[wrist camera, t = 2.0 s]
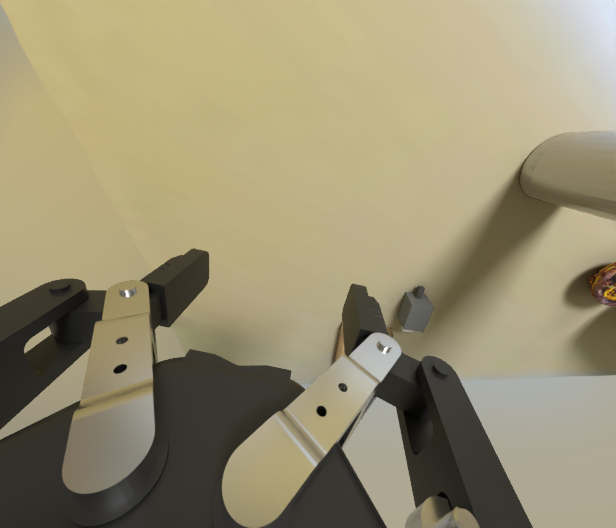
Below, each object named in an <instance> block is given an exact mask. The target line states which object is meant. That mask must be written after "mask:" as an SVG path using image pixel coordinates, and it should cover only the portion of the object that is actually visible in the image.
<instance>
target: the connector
mask: <svg viewBox="0 0 616 528" xmlns="http://www.w3.org/2000/svg"><path fill="white" fill-rule="evenodd" d="M424 290H425V288H424V287H423V286H418V288H417V291H416V293H410V292H405V295H404V298H403V301H402V304H401V307H400V310H399V313H398V316H399V319H400V322H401V324H402V327H401V329H402V331H403V332H411V333H413V331H421V332H424V330H425V327H426V325H427V323H428V321H429V318H430V316H431V314H432V311H433V309H434V308H433V306H432V304H431V303H430V301H429V299H428V298H427V296H426V294H423V292H424Z"/></svg>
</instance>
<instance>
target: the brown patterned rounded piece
mask: <svg viewBox="0 0 616 528" xmlns="http://www.w3.org/2000/svg"><path fill="white" fill-rule="evenodd" d="M589 281H590V282H591V286H590V290H591V293H592V295H593V297H594V299H595V300H597V301H598V302H600V303H602V304H605V305H608V306H616V262H615V263H613V264H610V265H608V266H606V267H605V268H603V269H601V270H600V271H599V273H597V274H594V275H592V276H590V278H589Z"/></svg>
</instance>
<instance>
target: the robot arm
mask: <svg viewBox="0 0 616 528" xmlns="http://www.w3.org/2000/svg"><path fill="white" fill-rule="evenodd" d="M520 185H521V187H522V190H523V191H524V192H525V194H527V195H528V196H530V197H532V198H535V199H538V200H542V201H546V202H549V203H553V204H556V205H560V206H563V207H567V208H570V209H574V210H578V211H581V212H585V213H588V214H592V215H596V216H599V217H603V218H607V219H610V220H614V221H616V131H592V132H571V133H563V134H560V135H557V136H554V137H552V138H550V139H548V140H547V141H545V142H544V143H542V144H541V145H540V146H538V147H537V148H536V149H535V150H534V151H533V152H532V153H531V155H530V156H529V157H528V158H527V160H526V162H525V163H524V165H523V168H522V171H521V175H520ZM208 279H209V254H208V252H207V251H202V250H198V249H191V250H190V251H188V252H187V253H186V254H184V255H180V256H177V257H174V258H171V259H170V260H168V261H167V262H165V263H164V264H163V265H161V266H160V267H159V268H157V269H155V270H154V271H153V272H151V273H150V274H148V275H147V276H146V277H144V278H143V279H142V280H140V281H135V280H131V281H124V282H120V283H117V284H115V285H113V286H111V287H110V288H109V289H108V290H107V291H95V290H91V291H90V290H87V289H86V286H85V283H84V282H83V281H81V280H78V279H61V280H55V281H51V282H48V283H46V284H43V285H41V286H39V287H37V288H35V289H34V290H32V291H30V292H28V293H26V294H24V295H22V296H20V297H18V298H16V299H14V300H12V301H11V302H9V303H7V304H5V305H3V306H1V307H0V429H1V428H3V427H4V426H5V425H6V424H7V423H8V422H9V421H10V420H11V419H12V418H13V417H15V416H16V415H17V414H18V413H19V412H20V411H21V410H22V409H23V408H24V407H25V406H27V405H28V404H29V403H30V402H31V401H32V400H33V399H34V398H35V397H37V396H38V395H39V394H40V393H41V392H42V391H43V390H44V389H45V388H46V387H47V386H49V385H50V384H51V383H52V382H53V381H54V380H55V379H56V378H57V377H59V376H60V375H61V374H62V373H63V372H64V371H65V370H66V369H67V368H68V367H69V366H71V365H72V364H73V363H74V362H75V361H76V360H77V359H78V358H79V357H80V356H81V355H82V354H84V353H85V352H86V351H87V350H88V349H89V348H90V347H91V348H90V353H89V359H88V365H87V370H86V375H85V380H84V386H83V391H82V396H81V400H80V401H78V402H76V403H74V404H72V405H70V406H68V407H66V408H64V409H62V410H60V411H58V412H56V413H54V414H52V415H50V416H48V417H46V418H43V419H41V420H40V421H38V422H35V423H34V424H31V425H29V426H27V427H25V428H23V429H21V430H19V431H17V432H15V433H13V434H11V435H9V436H7V437H5V438H3V439H1V440H0V528H387V527H386V525H385V524H384V522H383V520H382V519H381V517H380V515H379V513H378V511H377V510H376V508H375V506H374V504H373V503H372V501H371V499H370V497H369V496H368V494H367V492H366V490H365V489H364V487H363V485H362V483H361V482H360V480H359V478H358V476H357V474H356V473H355V471H354V469H353V467H352V466H351V464H350V462H349V461H348V459H347V457H346V455H345V453H344V452H343V450H342V448H343V447H344V445H345V444H346V442H347V441H348V439H349V438H350V436H351V435H352V433H353V431H354V430H355V428H356V427H357V425H358V424H359V422H360V421H361V419H362V418H363V416H364V415H365V413H366V412H367V410H368V409H369V408H370V406H371V405H372V403H373V402H374V400H375V399H376V397H379V398H380V399H383V400H384V401H386V402H388V403H390V404H392V405H393V406H395V407H396V409H397V414H398V419H399V424H400V429H401V434H402V440H403V445H404V450H405V455H406V460H407V465H408V470H409V475H410V481H411V485H412V491H413V496H414V501H415V506H416V509H415V510H414V511H413V512H412V513H411V514H410V515H409V516H408V518H407V521H406V525H405V528H533V527H532V525H531V523H530V521H529V519H528V517H527V515H526V513H525V511H524V509H523V507H522V505H521V503H520V501H519V499H518V497H517V495H516V493H515V491H514V489H513V487H512V485H511V483H510V481H509V479H508V477H507V475H506V473H505V471H504V469H503V467H502V465H501V463H500V460H499V458H498V456H497V454H496V453H495V450H494V448H493V446H492V445H491V442H490V440H489V438H488V436H487V434H486V432H485V430H484V428H483V426H482V424H481V422H480V420H479V418H478V416H477V414H476V412H475V410H474V408H473V406H472V404H471V402H470V400H469V398H468V396H467V394H466V392H465V390H464V388H463V386H462V384H461V382H460V380H459V378H458V376H457V374H456V372H455V371H454V370H453V368H452V367H451V366H450V365H448V364H447V363H446V362H444V361H443V360H441V359H439V358H437V357H433V356H426V357H424V358H423V359H422V361H421V362H420V361H418V360H416V359H413V358H411V357H409V356H407V355H405V354H403V353H402V352H401V348H400V346H399V344H398V343H397V342H396V341H395V340H394V339H393V338H391V337H390V336H389V335H388V332H387V328H386V325H385V322H384V319H383V315H382V312H381V309H380V306H379V303H378V302H377V301H376V300H375V299H374V297H370V296H368V293H367V289H366V287H365V286H361V285H356V284H352V285H351V287H350V289H349V292H348V295H347V298H346V301H345V304H344V307H343V312H342V322H343V337H344V351H345V354H344V355H342V356H341V357H340V358H339V359H338V360H337V361H336V362H335V363H334V364H333V365H332V366H331V367H329V368H328V369H327V370H326V371H325V372H324V373H323V374H322V375H321V376H320V377H319V378H318V379H317V380H316V381H314V382H313V383H312V384H311V385H310V386H309V387H308V388H307V389H306V390H305V389H304V388H303V387H302V386H301V385H299V384H298V383H296V382H295V381H293V380H291V379H290V376H291V371H290V370H286V369H281V368H276V367H272V366H267V365H264V366H238V365H235V364H233V363H231V362H229V361H227V360H225V359H223V358H221V357H219V356H217V355H215V354H210V353H206V352H201V351H196V350H191V349H190V350H189V351H188V353H187V354H186V356H185V357H180V358H173V359H168V360H164V361H161V362H158V358H157V347H156V334H155V329H156V328H157V327H158V326H159V325H160V326H164V327H170V326H171V325H172V324H173V323H174V321H175V320H176V319H177V318H178V317H179V316H180V315H181V314H182V312H183V311H184V310H185V309H186V308H187V307H188V306H189V305H190V303H191V302H192V301H193V300H194V299H195V298H196V297H197V296H198V294H199V293H200V292H201V291H202V290H203V289H204V288H205V286H206V285H207V283H208ZM48 326H49V328H50V330H51V333H52V334H51V335H50V336H48V337H47V338H46V339H44V340H43V341H42V342H40V343H39V344H37V345H36V346H35V347H34V348H32V349H31V350H29V351H28V352H26V353H25V354H24V347H25V345H26V343H27V342H28V341H29V339H31V338H32V337H33V336H35V335H36V334H38V333H39V332H40V331H42V330H43V329H45V328H46V327H48Z"/></svg>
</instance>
